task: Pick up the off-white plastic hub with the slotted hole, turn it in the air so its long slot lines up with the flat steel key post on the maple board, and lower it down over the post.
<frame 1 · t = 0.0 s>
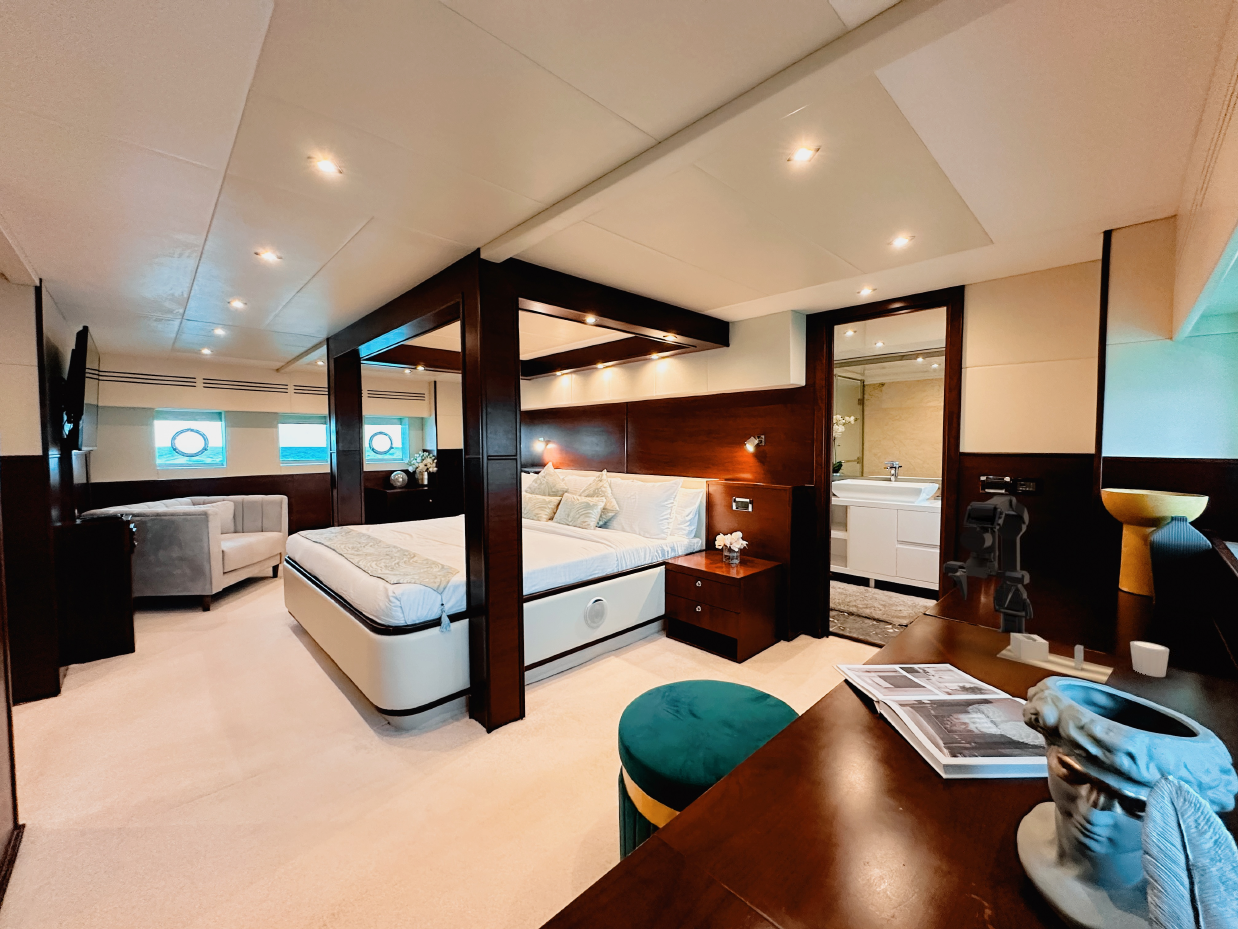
hand: (984, 602, 137), 15 cm above the table, tool pointing down, fingers open, 9 cm apart
maple board: (1053, 667, 129), on the table
shot glass: (1149, 673, 126), on the table
key post: (1078, 674, 125), resting on maple board
hub: (1028, 656, 133), point 1 cm above the table, touching maple board
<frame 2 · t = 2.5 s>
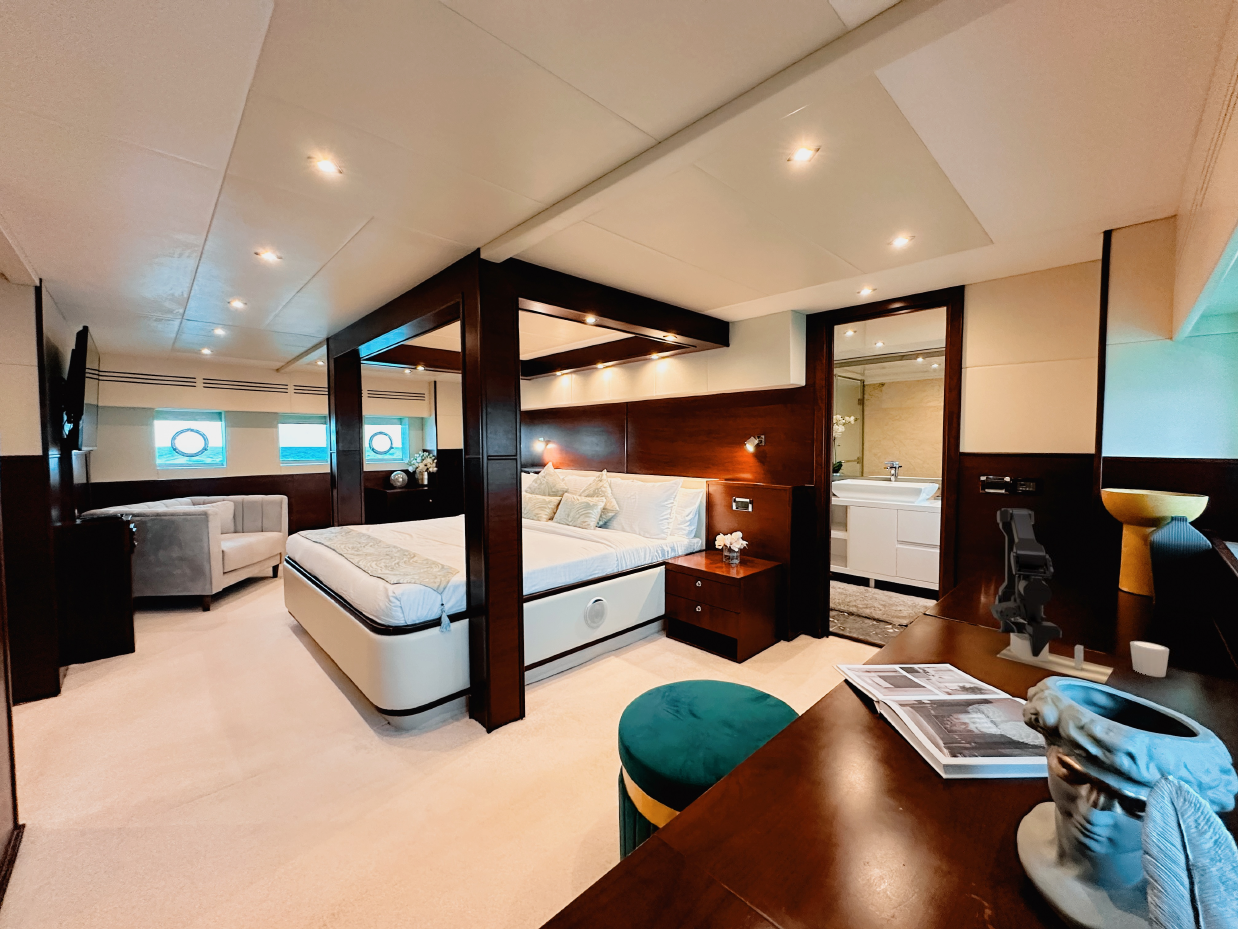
hand: (1028, 652, 133), 3 cm above the table, tool pointing down, fingers closed on hub, 6 cm apart
hub: (1028, 656, 133), point 2 cm above the table, touching gripper, maple board
everything else where it was.
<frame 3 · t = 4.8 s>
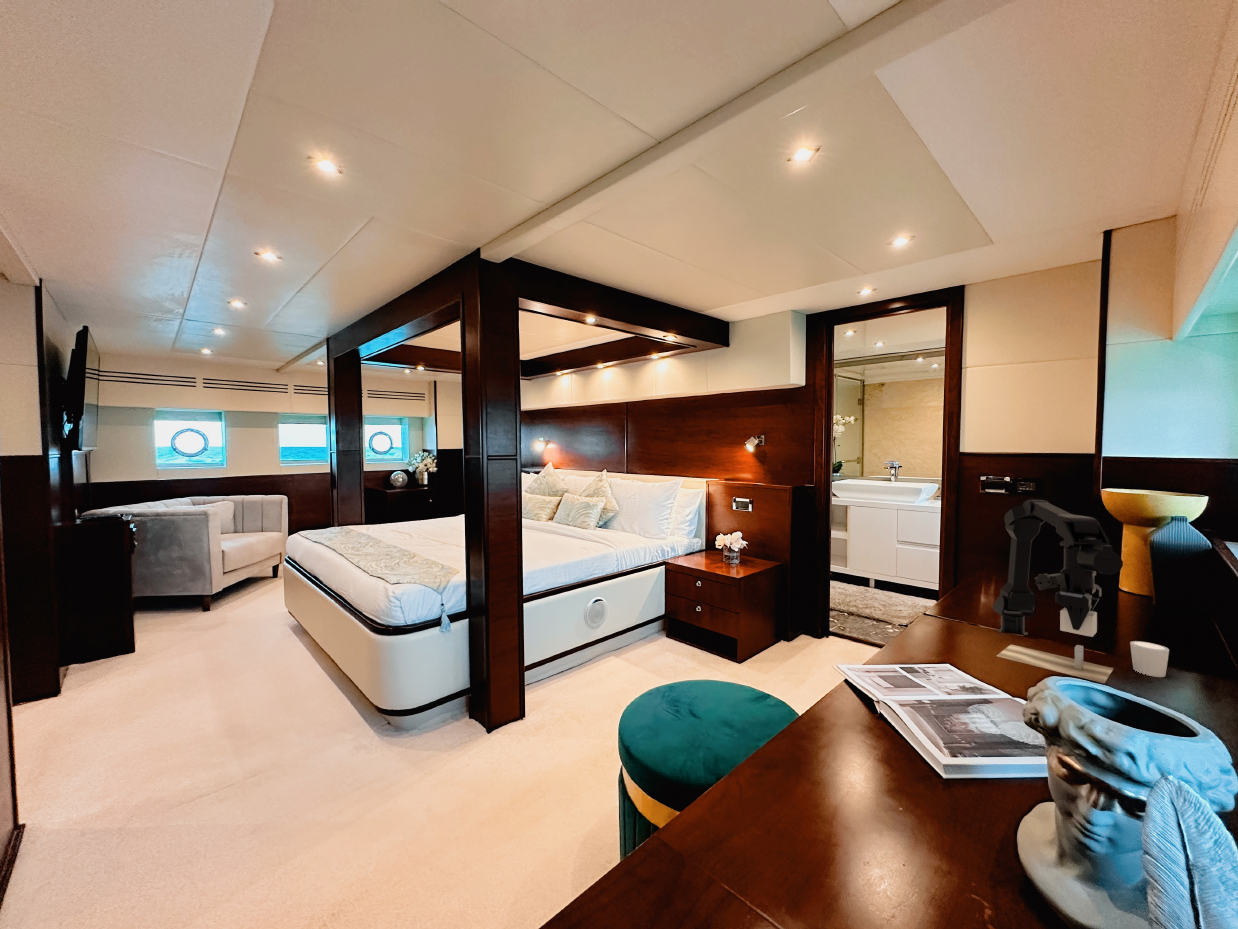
hand: (1078, 627, 125), 12 cm above the table, tool pointing down, fingers closed on hub, 6 cm apart
hub: (1078, 631, 125), point 11 cm above the table, touching gripper
everything else where it was.
when the fingers open (3 cm above the table, at t = 7.6 s): hub stays where it is, resting on maple board.
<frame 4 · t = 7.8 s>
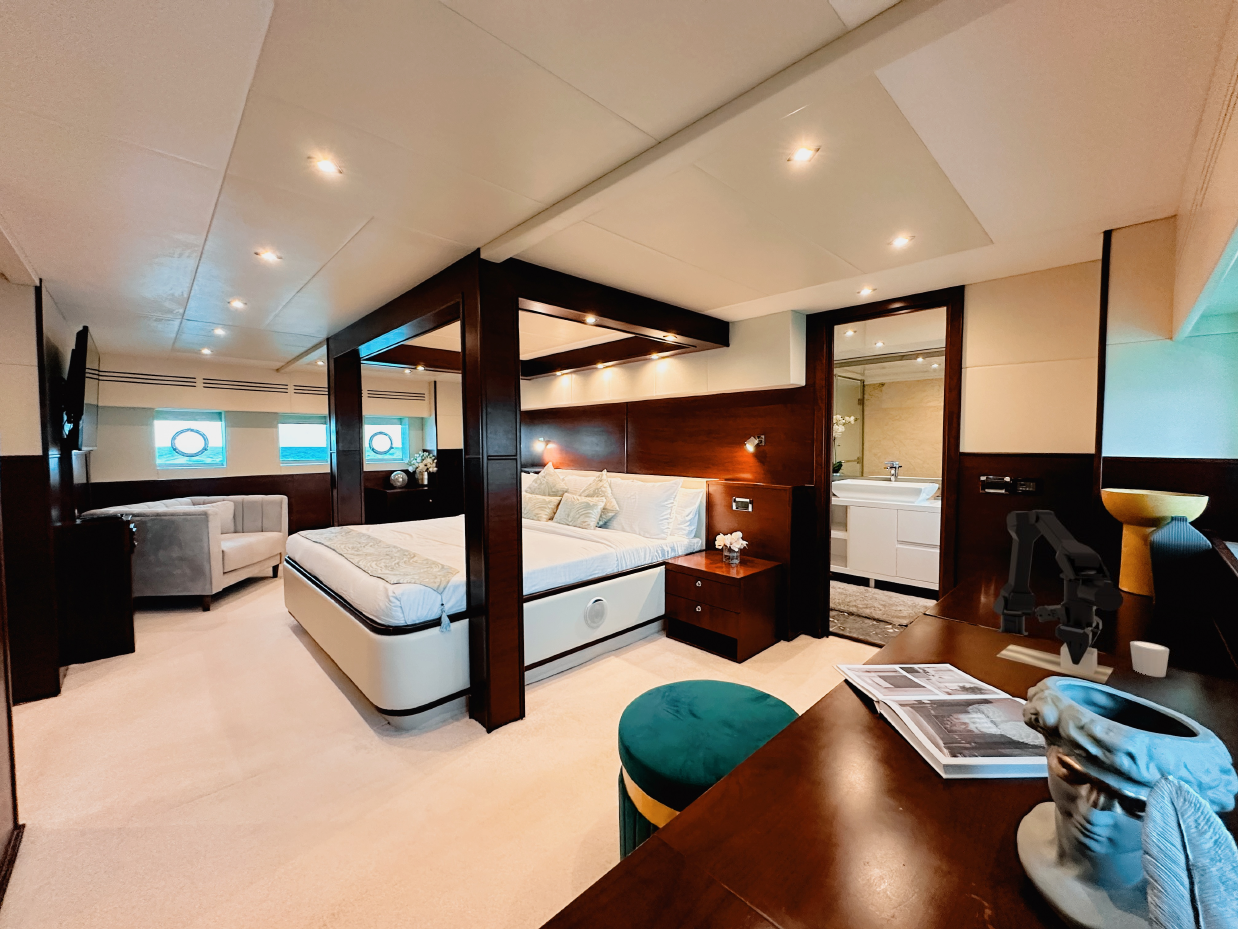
hand: (1078, 660, 125), 3 cm above the table, tool pointing down, fingers open, 8 cm apart
hub: (1078, 668, 125), point 1 cm above the table, touching maple board
everything else where it was.
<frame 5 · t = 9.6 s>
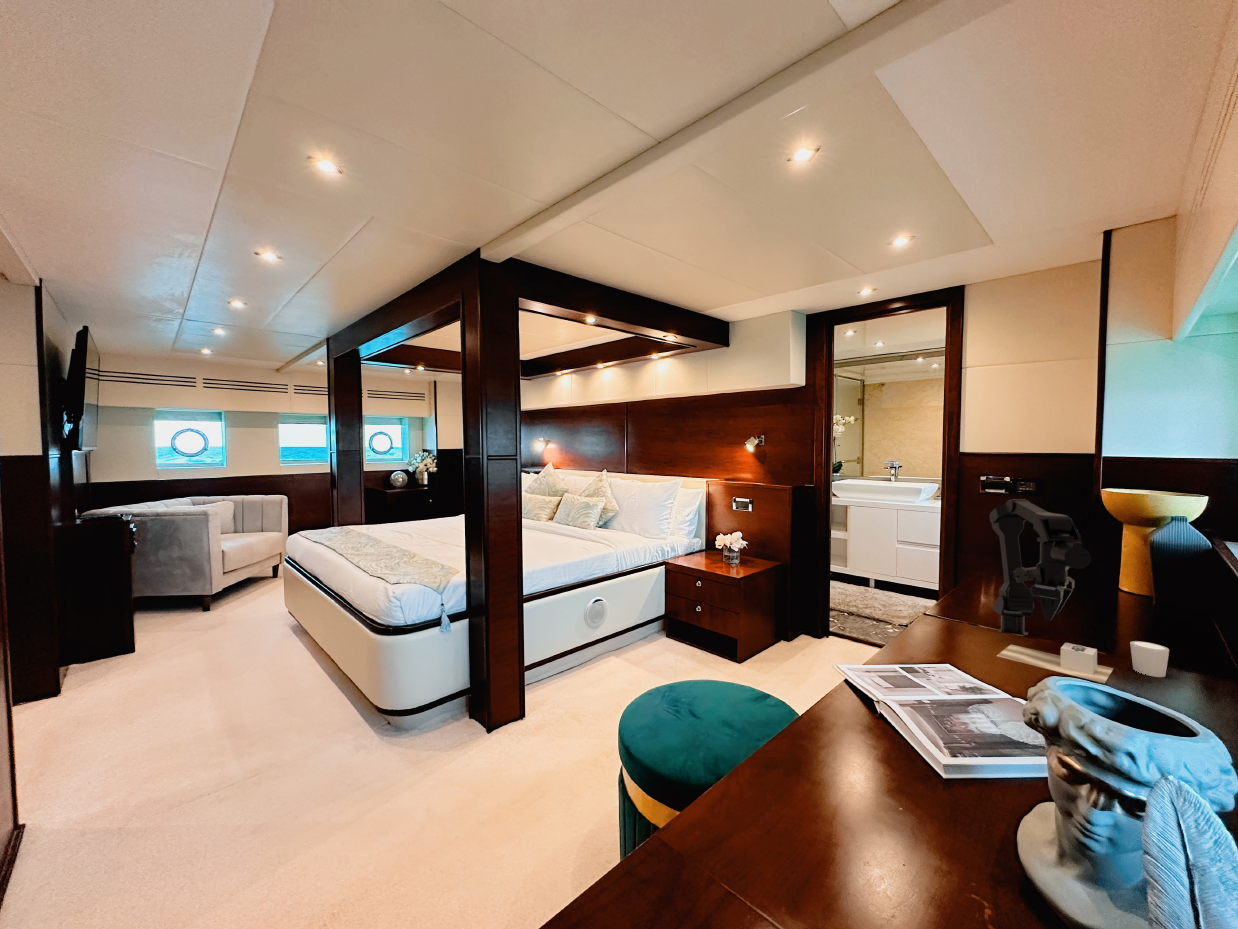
hand: (1052, 616, 135), 12 cm above the table, tool pointing down, fingers open, 9 cm apart
nothing on the table moved.
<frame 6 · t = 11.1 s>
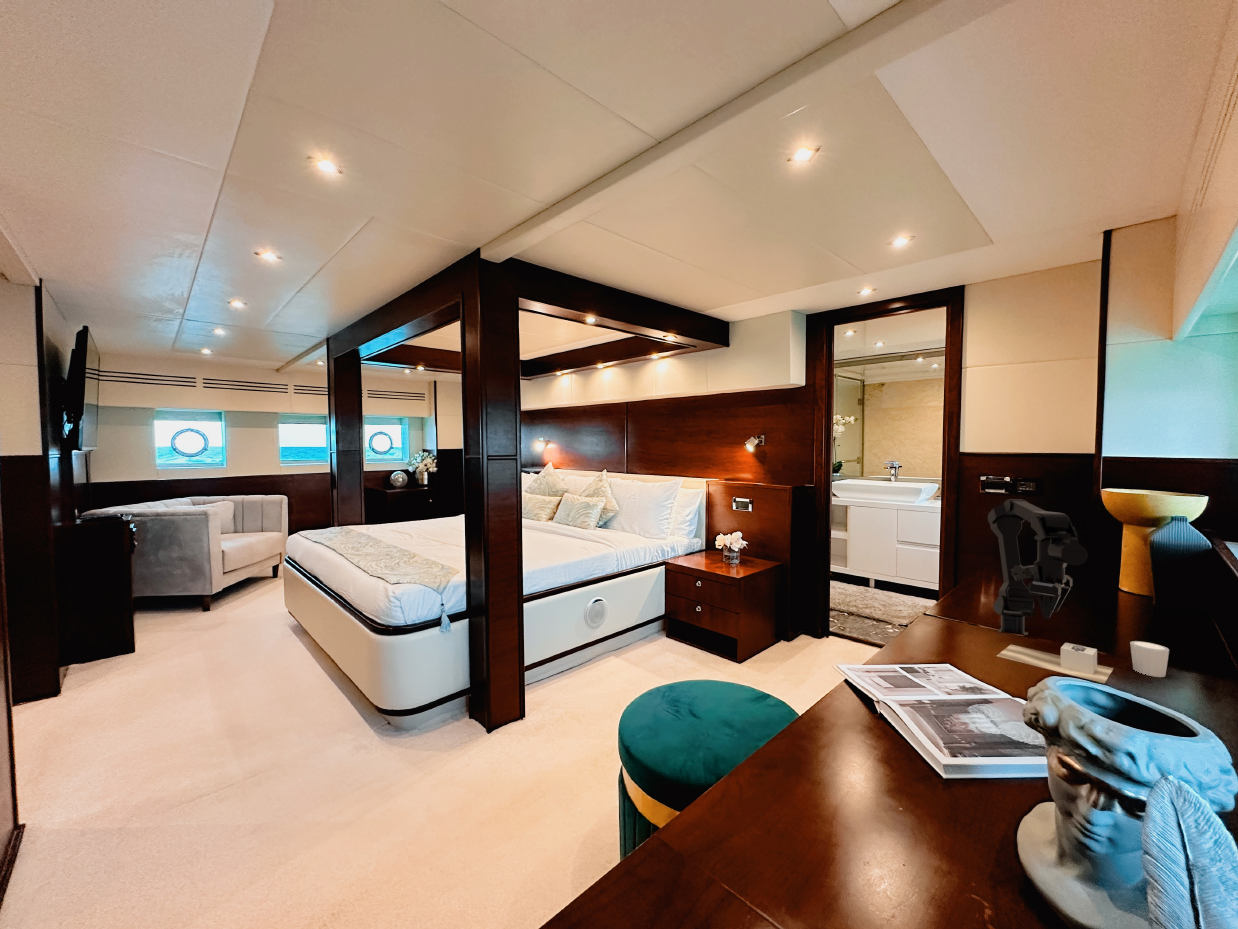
hand: (1050, 614, 135), 12 cm above the table, tool pointing down, fingers open, 9 cm apart
nothing on the table moved.
at the end: hub 0.0 cm off-centre on the key post, point 1.5 cm above the key post's base; hub tilted 0°; the gripper is holding nothing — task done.
